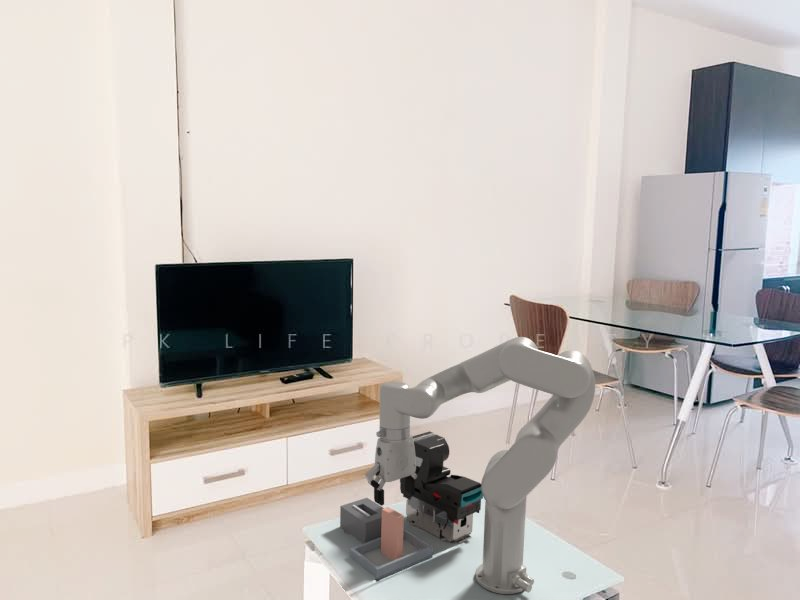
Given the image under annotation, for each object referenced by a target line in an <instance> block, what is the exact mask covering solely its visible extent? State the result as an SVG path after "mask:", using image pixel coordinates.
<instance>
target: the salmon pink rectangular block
mask: <svg viewBox="0 0 800 600" xmlns="http://www.w3.org/2000/svg"><path fill="white" fill-rule="evenodd" d="M383 508H384V509H382V526H381V547H380V553H381V554H383V555H384V556H386V557H387V558H389V559H391V560H392V561H394V560H396V559H398V558H401V557H403V554H404V553H403V552H404V550H403V549H404V538H403V529H404V521H405V520H404V518H405V517H404V516H405V515H404V514H403V513H401V512H398V511H396V510H394V509H393V508H391V507H389V506H386V507H383Z"/></svg>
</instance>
